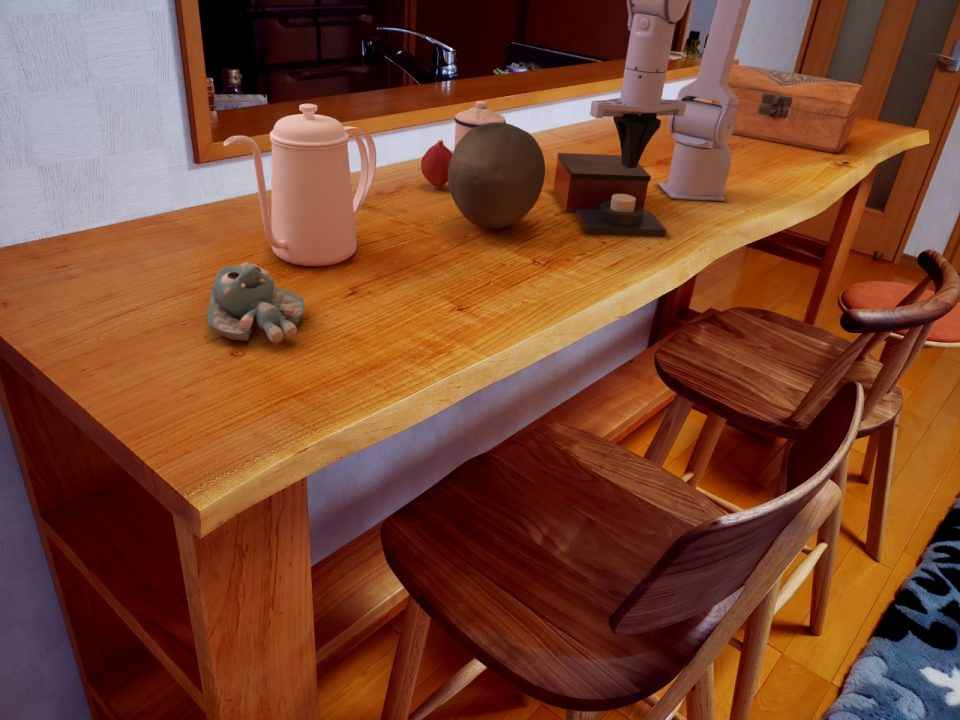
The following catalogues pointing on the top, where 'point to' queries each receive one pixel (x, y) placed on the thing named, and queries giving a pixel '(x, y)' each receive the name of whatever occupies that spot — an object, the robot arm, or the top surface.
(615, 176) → the box lid
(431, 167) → the onion
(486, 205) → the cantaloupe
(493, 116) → the teacup with lid
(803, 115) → the wooden box
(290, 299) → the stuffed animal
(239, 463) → the top surface
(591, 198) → the reddish-brown open box
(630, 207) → the button
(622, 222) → the switch block
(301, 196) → the coffeepot
